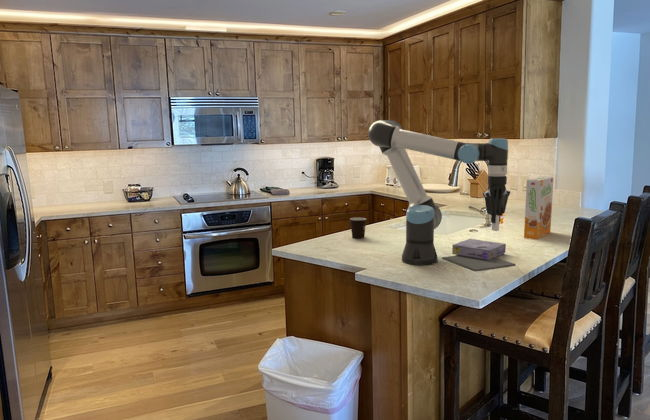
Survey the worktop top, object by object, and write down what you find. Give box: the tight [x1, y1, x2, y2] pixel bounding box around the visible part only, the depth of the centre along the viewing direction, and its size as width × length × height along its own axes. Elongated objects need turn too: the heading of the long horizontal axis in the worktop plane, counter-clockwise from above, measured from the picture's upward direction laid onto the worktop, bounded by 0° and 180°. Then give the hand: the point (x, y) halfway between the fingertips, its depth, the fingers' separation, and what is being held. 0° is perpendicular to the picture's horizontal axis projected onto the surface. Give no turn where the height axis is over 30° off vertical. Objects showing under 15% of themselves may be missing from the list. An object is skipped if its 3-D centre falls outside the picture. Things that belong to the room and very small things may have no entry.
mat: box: [441, 255, 516, 272], centre depth 213 cm, size 20×22×1 cm
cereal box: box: [523, 175, 554, 240], centre depth 262 cm, size 22×6×30 cm, turn 139°
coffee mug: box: [349, 217, 367, 240], centre depth 265 cm, size 12×9×10 cm
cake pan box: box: [451, 238, 507, 260], centre depth 224 cm, size 19×5×18 cm
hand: (495, 230), depth 214 cm, fingers closed
